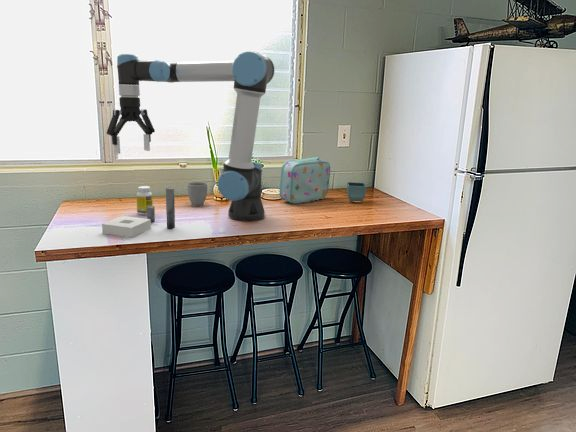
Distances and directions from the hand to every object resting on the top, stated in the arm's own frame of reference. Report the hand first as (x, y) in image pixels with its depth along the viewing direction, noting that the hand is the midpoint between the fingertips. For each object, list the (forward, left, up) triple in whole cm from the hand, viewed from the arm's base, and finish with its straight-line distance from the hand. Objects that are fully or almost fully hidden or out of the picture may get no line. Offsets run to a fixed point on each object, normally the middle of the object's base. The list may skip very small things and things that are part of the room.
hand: (132, 152), depth 186 cm
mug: (-14, -27, -26) cm, 40 cm away
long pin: (-22, +11, -26) cm, 36 cm away
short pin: (-11, +7, -26) cm, 29 cm away
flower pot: (-81, -64, -26) cm, 107 cm away
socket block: (-10, +21, -26) cm, 34 cm away
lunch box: (-58, -55, -26) cm, 84 cm away
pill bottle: (-2, -3, -26) cm, 26 cm away
